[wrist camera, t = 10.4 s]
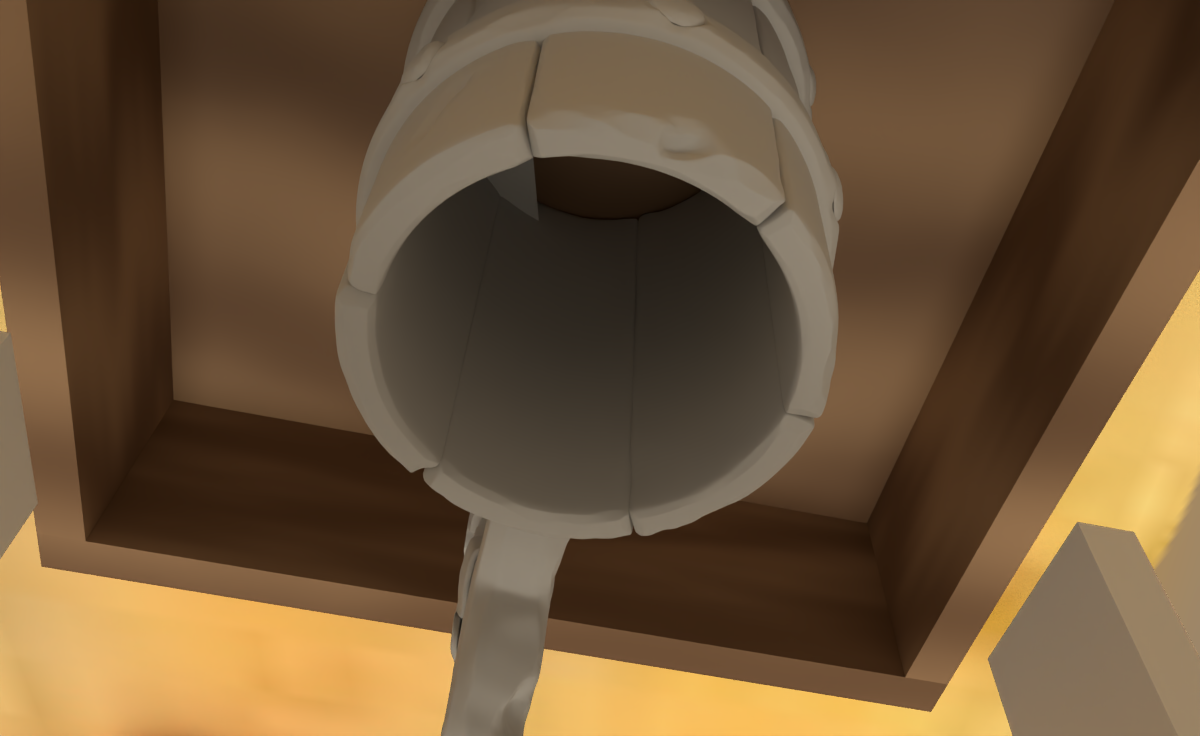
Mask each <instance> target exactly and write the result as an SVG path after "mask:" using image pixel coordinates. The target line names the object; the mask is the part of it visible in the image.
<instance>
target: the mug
mask: <svg viewBox="0 0 1200 736" xmlns="http://www.w3.org/2000/svg"><path fill="white" fill-rule="evenodd" d="M815 95H816V78H815V74H814V71H813V69H812V68H811V66H810V64H809V61H808V57H807V53H806V49H805V45H804V41H803V38H802V34H801V32H800V29H799V26H798V24H797V21H796V19H795V16H794V14H793V12H792V10H791V7H790V5H789V3H788V1H787V0H428V1H427V2H426V4H425V6H424V8H423V10H422V12H421V15H420V17H419V19H418V21H417V24H416V26H415V29H414V32H413V34H412V37H411V41H410V44H409V47H408V51H407V55H406V60H405V65H404V71H403V75H402V78H401V82H400V84H399V86H398V88H397V90H396V92H395V94H394V96H393V98H392V100H391V102H390V104H389V106H388V107H387V109H386V111H385V113H384V115H383V117H382V118H381V120H380V122H379V124H378V126H377V128H376V130H375V132H374V135H373V137H372V139H371V142H370V144H369V147H368V150H367V153H366V156H365V159H364V162H363V166H362V170H361V174H360V179H359V185H358V192H357V202H356V230H355V233H354V236H353V239H352V242H351V247H350V255H349V260H348V263H347V266H346V268H345V271H344V274H343V276H342V279H341V282H340V285H339V287H338V290H337V293H336V299H335V333H336V345H337V352H338V357H339V362H340V365H341V369H342V371H343V374H344V376H345V379H346V381H347V384H348V387H349V390H350V393H351V395H352V397H353V400H354V402H355V404H356V406H357V408H358V409H359V411H360V413H361V415H362V416H363V418H364V420H365V422H366V424H367V425H368V427H369V428H370V430H371V431H372V433H373V434H374V436H375V437H376V438H377V440H378V441H379V442H380V444H381V445H382V446H383V447H384V448H385V449H386V450H387V451H388V453H390V454H391V455H392V456H393V457H394V458H395V459H396V460H397V461H399V462H400V463H401V464H402V465H403V466H404V467H405V468H406V469H407V470H408V471H409V472H414V471H416V470H418V469H421V468H425V469H424V472H423V478H424V481H425V482H426V483H427V484H428V485H429V486H430V487H431V488H432V489H433V490H435V491H436V492H438V493H439V494H441V495H442V496H444V497H445V498H446V499H447V500H449V501H450V502H451V503H453V504H455V505H456V506H458V507H460V508H462V509H464V510H466V511H468V512H470V515H469V520H468V526H467V532H466V538H465V545H464V559H463V563H462V566H461V570H460V575H459V585H458V603H457V608H456V612H455V614H454V619H453V626H452V637H451V654H452V657H453V659H454V662H455V663H454V668H453V676H452V682H451V687H450V693H449V699H448V704H447V709H446V714H445V720H444V723H443V727H442V732H441V736H523V731H524V725H525V721H526V718H527V715H528V712H529V709H530V705H531V700H532V696H533V693H534V689H535V686H536V684H537V681H538V678H539V674H540V669H541V663H542V657H543V651H544V643H545V636H546V628H547V620H548V614H549V609H550V601H551V597H552V593H553V588H554V582H555V575H556V573H557V570H558V568H559V565H560V563H561V560H562V557H563V554H564V551H565V548H566V545H567V543H568V541H569V540H570V538H574V539H592V538H602V539H610V538H617V537H621V536H626V535H630V534H631V533H632V529H633V526H634V529H635V532H636V533H638V534H639V535H641V536H649V535H652V534H655V533H657V532H659V531H661V530H666V529H675V528H678V527H680V526H683V525H686V524H689V523H692V522H694V521H696V520H698V519H699V518H701V517H703V516H704V515H707V514H709V513H711V512H714V511H716V510H718V509H720V508H723V507H725V506H727V505H730V504H732V503H734V502H737V501H739V500H741V499H743V498H744V497H746V496H748V495H749V494H751V493H752V492H754V491H755V490H757V489H758V488H759V487H761V486H762V485H763V484H764V483H766V482H767V481H768V480H769V479H770V478H772V477H773V476H774V475H775V474H776V473H777V472H778V471H779V470H780V469H781V468H782V467H783V466H784V465H785V464H786V463H787V462H788V461H789V460H790V459H791V458H792V457H793V456H794V455H795V454H796V453H797V452H798V450H799V449H800V448H801V446H802V445H803V444H804V442H805V441H806V439H807V438H808V436H809V435H810V433H811V432H812V430H813V428H814V418H818V417H820V416H821V415H822V413H823V410H824V408H825V405H826V402H827V398H828V394H829V389H830V382H831V377H832V374H833V371H834V367H835V359H836V345H837V335H838V301H837V293H836V286H835V280H834V275H833V265H834V260H835V254H836V248H837V241H838V235H839V224H838V222H837V221H838V220H839V219H840V218H841V215H842V211H843V192H842V185H841V182H840V179H839V176H838V174H837V172H836V170H835V169H834V168H833V167H832V166H831V164H830V161H829V157H828V155H827V153H826V151H825V149H824V148H823V145H822V143H821V141H820V138H819V135H818V133H817V131H816V128H815V126H814V124H813V122H812V109H811V106H812V105H813V103H814V99H815ZM533 156H534V157H539V158H547V157H560V156H575V157H585V158H595V159H605V160H613V161H620V162H625V163H630V164H634V165H639V166H643V167H646V168H650V169H654V170H657V171H660V172H663V173H665V174H668V175H671V176H673V177H676V178H678V179H681V180H683V181H685V182H688V183H690V184H692V185H694V186H696V187H698V188H699V189H701V191H700V192H699V193H697V194H696V195H694V196H692V197H691V198H689V199H687V200H685V201H683V202H681V203H679V204H677V205H675V206H673V207H671V208H669V209H666V210H663V211H660V212H652V213H646V214H644V215H642V216H641V217H639V219H638V220H637V219H618V220H600V219H588V218H582V217H578V216H575V215H571V214H568V213H564V212H561V211H558V210H555V209H553V208H550V207H548V206H546V205H544V204H541V203H539V202H537V195H536V184H535V173H534V161H533Z"/></svg>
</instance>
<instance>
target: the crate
mask: <svg viewBox="0 0 1200 736" xmlns="http://www.w3.org/2000/svg"><path fill="white" fill-rule="evenodd" d="M427 1H428V0H0V285H1V292H2V298H3V305H4V312H5V319H6V326H7V332H8V333H11V338H12V345H13V351H14V357H15V363H16V370H17V376H18V382H19V389H20V395H21V401H22V407H23V414H24V420H25V426H26V432H27V439H28V445H29V451H30V457H31V464H32V470H33V476H34V483H35V489H36V495H37V501H38V504H37V505H36V507H35V508H34V510H33V511H34V518H35V524H36V531H37V538H38V545H39V552H40V559H41V565H42V567H48V568H54V569H60V570H66V571H72V572H78V573H85V574H91V575H97V576H103V577H109V578H115V579H121V580H127V581H133V582H140V583H146V584H152V585H158V586H164V587H170V588H176V589H182V590H189V591H195V592H201V593H207V594H213V595H219V596H225V597H231V598H238V599H244V600H250V601H256V602H262V603H268V604H274V605H280V606H286V607H293V608H299V609H305V610H311V611H317V612H323V613H329V614H335V615H342V616H348V617H354V618H360V619H366V620H372V621H378V622H384V623H391V624H397V625H403V626H409V627H415V628H421V629H427V630H433V631H439V632H446V633H452V626H453V619H454V614H455V612H456V608H457V603H458V585H459V575H460V570H461V566H462V563H463V559H464V545H465V538H466V532H467V526H468V520H469V515H470V512H468V511H466V510H464V509H462V508H460V507H458V506H456V505H455V504H453V503H451V502H450V501H449V500H447V499H446V498H445V497H444V496H442V495H441V494H439V493H438V492H436V491H435V490H433V489H432V488H431V487H430V486H429V485H428V484H427V483H426V482H425V481H424V478H423V472H424V469H425V468H421V469H418V470H416V471H414V472H409V471H408V470H407V469H406V468H405V467H404V466H403V465H402V464H401V463H400V462H399V461H397V460H396V459H395V458H394V457H393V456H392V455H391V454H390V453H388V451H387V450H386V449H385V448H384V447H383V446H382V445H381V444H380V442H379V441H378V440H377V438H376V437H375V436H374V434H373V433H372V431H371V430H370V428H369V427H368V425H367V424H366V422H365V420H364V418H363V416H362V415H361V413H360V411H359V409H358V408H357V406H356V404H355V402H354V400H353V397H352V395H351V393H350V390H349V387H348V384H347V381H346V379H345V376H344V374H343V371H342V369H341V365H340V362H339V357H338V352H337V345H336V333H335V299H336V293H337V290H338V287H339V285H340V282H341V279H342V276H343V274H344V271H345V268H346V266H347V263H348V260H349V255H350V247H351V242H352V239H353V236H354V233H355V230H356V202H357V192H358V185H359V179H360V174H361V170H362V166H363V162H364V159H365V156H366V153H367V150H368V147H369V144H370V142H371V139H372V137H373V135H374V132H375V130H376V128H377V126H378V124H379V122H380V120H381V118H382V117H383V115H384V113H385V111H386V109H387V107H388V106H389V104H390V102H391V100H392V98H393V96H394V94H395V92H396V90H397V88H398V86H399V84H400V82H401V78H402V75H403V71H404V65H405V60H406V55H407V51H408V47H409V44H410V41H411V37H412V34H413V32H414V29H415V26H416V24H417V21H418V19H419V17H420V15H421V12H422V10H423V8H424V6H425V4H426V2H427ZM787 1H788V3H789V5H790V7H791V10H792V12H793V14H794V16H795V19H796V21H797V24H798V26H799V29H800V32H801V34H802V38H803V41H804V45H805V49H806V53H807V57H808V61H809V64H810V66H811V68H812V69H813V71H814V74H815V78H816V95H815V99H814V103H813V105H812V106H811V109H812V122H813V124H814V126H815V128H816V131H817V133H818V135H819V138H820V141H821V143H822V145H823V148H824V149H825V151H826V153H827V155H828V157H829V161H830V164H831V166H832V167H833V168H834V169H835V170H836V172H837V174H838V176H839V179H840V182H841V185H842V192H843V211H842V215H841V218H840V219H839V220H838V221H837V222H838V224H839V235H838V241H837V248H836V254H835V260H834V265H833V275H834V280H835V286H836V293H837V301H838V335H837V345H836V359H835V367H834V371H833V374H832V377H831V382H830V389H829V394H828V398H827V402H826V405H825V408H824V410H823V413H822V415H821V416H820V417H818V418H814V428H813V430H812V432H811V433H810V435H809V436H808V438H807V439H806V441H805V442H804V444H803V445H802V446H801V448H800V449H799V450H798V452H797V453H796V454H795V455H794V456H793V457H792V458H791V459H790V460H789V461H788V462H787V463H786V464H785V465H784V466H783V467H782V468H781V469H780V470H779V471H778V472H777V473H776V474H775V475H774V476H773V477H772V478H770V479H769V480H768V481H767V482H766V483H764V484H763V485H762V486H761V487H759V488H758V489H757V490H755V491H754V492H752V493H751V494H749V495H748V496H746V497H744V498H743V499H741V500H739V501H737V502H734V503H732V504H730V505H727V506H725V507H723V508H720V509H718V510H716V511H714V512H711V513H709V514H707V515H704V516H703V517H701V518H699V519H698V520H696V521H694V522H692V523H689V524H686V525H683V526H680V527H678V528H675V529H666V530H661V531H659V532H657V533H655V534H652V535H649V536H641V535H639V534H638V533H636V532H635V529H634V526H633V529H632V533H631V534H630V535H626V536H621V537H617V538H610V539H602V538H592V539H574V538H570V540H569V541H568V543H567V545H566V548H565V551H564V554H563V557H562V560H561V563H560V565H559V568H558V570H557V573H556V575H555V582H554V588H553V593H552V597H551V601H550V609H549V614H548V620H547V628H546V636H545V643H544V649H550V650H556V651H562V652H568V653H574V654H580V655H586V656H592V657H599V658H605V659H611V660H617V661H623V662H629V663H635V664H641V665H648V666H654V667H660V668H666V669H672V670H678V671H684V672H690V673H697V674H703V675H709V676H715V677H721V678H727V679H733V680H739V681H745V682H752V683H758V684H764V685H770V686H776V687H782V688H788V689H794V690H801V691H807V692H813V693H819V694H825V695H831V696H837V697H843V698H850V699H856V700H862V701H868V702H874V703H880V704H886V705H892V706H898V707H905V708H911V709H917V710H923V711H929V712H931V711H932V709H933V708H934V706H935V704H936V703H937V701H938V699H939V698H940V696H941V694H942V693H943V691H944V690H945V688H946V686H947V685H948V683H949V681H950V680H951V678H952V676H953V675H954V673H955V671H956V670H957V668H958V667H959V665H960V663H961V662H962V660H963V658H964V657H965V655H966V653H967V652H968V650H969V648H970V647H971V645H972V643H973V642H974V640H975V639H976V637H977V635H978V634H979V632H980V630H981V629H982V627H983V625H984V624H985V622H986V620H987V619H988V617H989V616H990V614H991V612H992V611H993V609H994V607H995V606H996V604H997V602H998V601H999V599H1000V597H1001V596H1002V594H1003V592H1004V591H1005V589H1006V588H1007V586H1008V584H1009V583H1010V581H1011V579H1012V578H1013V576H1014V574H1015V573H1016V571H1017V569H1018V568H1019V566H1020V565H1021V563H1022V561H1023V560H1024V558H1025V556H1026V555H1027V553H1028V551H1029V550H1030V548H1031V546H1032V545H1033V543H1034V541H1035V540H1036V538H1037V537H1038V535H1039V533H1040V532H1041V530H1042V528H1043V527H1044V525H1045V523H1046V522H1047V520H1048V518H1049V517H1050V515H1051V514H1052V512H1053V510H1054V509H1055V507H1056V505H1057V504H1058V502H1059V500H1060V499H1061V497H1062V495H1063V494H1064V492H1065V490H1066V489H1067V487H1068V486H1069V484H1070V482H1071V481H1072V479H1073V477H1074V476H1075V474H1076V472H1077V471H1078V469H1079V467H1080V466H1081V464H1082V462H1083V461H1084V459H1085V458H1086V456H1087V454H1088V453H1089V451H1090V449H1091V448H1092V446H1093V444H1094V443H1095V441H1096V439H1097V438H1098V436H1099V435H1100V433H1101V431H1102V430H1103V428H1104V426H1105V425H1106V423H1107V421H1108V420H1109V418H1110V416H1111V415H1112V413H1113V411H1114V410H1115V408H1116V407H1117V405H1118V403H1119V402H1120V400H1121V398H1122V397H1123V395H1124V393H1125V392H1126V390H1127V388H1128V387H1129V385H1130V384H1131V382H1132V380H1133V379H1134V377H1135V375H1136V374H1137V372H1138V370H1139V369H1140V367H1141V365H1142V364H1143V362H1144V360H1145V359H1146V357H1147V356H1148V354H1149V352H1150V351H1151V349H1152V347H1153V346H1154V344H1155V342H1156V341H1157V339H1158V337H1159V336H1160V334H1161V333H1162V331H1163V329H1164V328H1165V326H1166V324H1167V323H1168V321H1169V319H1170V318H1171V316H1172V314H1173V313H1174V311H1175V309H1176V308H1177V306H1178V305H1179V303H1180V301H1181V300H1182V298H1183V296H1184V295H1185V293H1186V291H1187V290H1188V288H1189V286H1190V285H1191V283H1192V281H1193V280H1194V278H1195V277H1196V275H1197V273H1198V272H1199V270H1200V0H787ZM533 161H534V173H535V184H536V195H537V202H539V203H541V204H544V205H546V206H548V207H550V208H553V209H555V210H558V211H561V212H564V213H568V214H571V215H575V216H578V217H582V218H588V219H600V220H618V219H637V220H638V219H639V217H641V216H642V215H644V214H646V213H652V212H660V211H663V210H666V209H669V208H671V207H673V206H675V205H677V204H679V203H681V202H683V201H685V200H687V199H689V198H691V197H692V196H694V195H696V194H697V193H699V192H700V191H701V189H699V188H698V187H696V186H694V185H692V184H690V183H688V182H685V181H683V180H681V179H678V178H676V177H673V176H671V175H668V174H665V173H663V172H660V171H657V170H654V169H650V168H646V167H643V166H639V165H634V164H630V163H625V162H620V161H613V160H605V159H595V158H585V157H575V156H560V157H547V158H539V157H534V156H533Z"/></svg>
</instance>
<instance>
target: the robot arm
mask: <svg viewBox="0 0 1200 736" xmlns="http://www.w3.org/2000/svg"><path fill="white" fill-rule="evenodd" d="M37 504H38V501H37V495H36V489H35V483H34V476H33V470H32V464H31V457H30V451H29V445H28V439H27V432H26V426H25V420H24V414H23V407H22V401H21V395H20V389H19V382H18V376H17V370H16V363H15V357H14V351H13V345H12V338H11V333H8V332H3V331H0V559H1V557H2V556H3V554H4V553H5V551H6V550H7V548H8V547H9V545H10V544H11V542H12V541H13V539H14V538H15V536H16V535H17V533H18V532H19V530H20V529H21V527H22V526H23V524H24V523H25V521H26V520H27V518H28V517H29V516H30V514H31V513H32V511H33V510H34V508H35V507H36V505H37ZM988 661H989V664H990V667H991V670H992V673H993V676H994V679H995V682H996V686H997V689H998V692H999V695H1000V698H1001V701H1002V704H1003V707H1004V710H1005V713H1006V716H1007V720H1008V723H1009V726H1010V729H1011V732H1012V735H1013V736H1200V657H1199V655H1198V653H1197V651H1196V649H1195V647H1194V646H1193V644H1192V642H1191V640H1190V638H1189V636H1188V634H1187V632H1186V630H1185V628H1184V626H1183V624H1182V623H1181V621H1180V619H1179V617H1178V615H1177V613H1176V611H1175V609H1174V607H1173V605H1172V604H1171V602H1170V600H1169V598H1168V596H1167V594H1166V592H1165V590H1164V588H1163V586H1162V584H1161V583H1160V581H1159V579H1158V577H1157V575H1156V573H1155V571H1154V569H1153V567H1152V565H1151V564H1150V562H1149V560H1148V558H1147V556H1146V554H1145V552H1144V550H1143V548H1142V546H1141V545H1140V543H1139V541H1138V539H1137V537H1136V535H1135V533H1134V532H1131V531H1125V530H1120V529H1114V528H1109V527H1103V526H1097V525H1092V524H1086V523H1080V522H1077V523H1076V525H1075V526H1074V528H1073V529H1072V531H1071V532H1070V534H1069V536H1068V537H1067V539H1066V540H1065V542H1064V543H1063V545H1062V546H1061V548H1060V549H1059V551H1058V552H1057V554H1056V555H1055V557H1054V558H1053V560H1052V561H1051V563H1050V565H1049V566H1048V568H1047V569H1046V571H1045V572H1044V574H1043V575H1042V577H1041V578H1040V580H1039V581H1038V583H1037V584H1036V586H1035V587H1034V589H1033V590H1032V592H1031V594H1030V595H1029V597H1028V598H1027V600H1026V601H1025V603H1024V604H1023V606H1022V607H1021V609H1020V610H1019V612H1018V613H1017V615H1016V616H1015V618H1014V619H1013V621H1012V623H1011V624H1010V626H1009V627H1008V629H1007V630H1006V632H1005V633H1004V635H1003V636H1002V638H1001V639H1000V641H999V642H998V644H997V645H996V647H995V648H994V650H993V652H992V653H991V655H990V656H989V658H988Z"/></svg>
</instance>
